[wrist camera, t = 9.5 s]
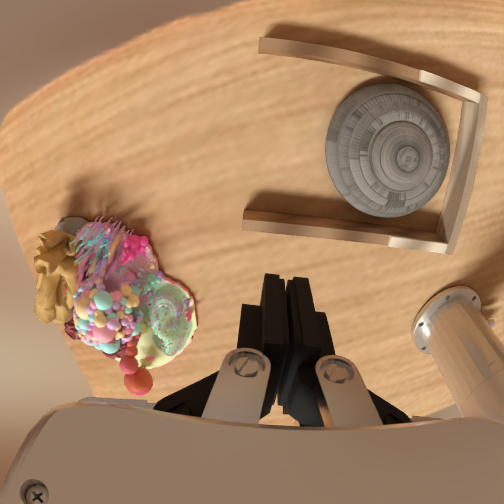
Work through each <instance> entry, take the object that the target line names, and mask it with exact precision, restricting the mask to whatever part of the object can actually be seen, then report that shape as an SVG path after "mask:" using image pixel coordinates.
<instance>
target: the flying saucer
mask: <svg viewBox="0 0 504 504" xmlns="http://www.w3.org/2000/svg"><path fill="white" fill-rule="evenodd" d="M325 153H326V162H327V167H328V171H329V174H330V177H331V179H332V181H333V183H334V185H335V187H336V189H337V190H338V192H339V193H340V194H341V195H342V197H343V198H344V199H345V200H346V201H347V202H348V203H349V204H351V205H352V206H353V207H355V208H356V209H358V210H359V211H361V212H363V213H366V214H368V215H371V216H375V217H382V218H393V217H400V216H404V215H407V214H409V213H412V212H414V211H416V210H418V209H419V208H421V207H422V206H424V205H425V204H426V203H427V202H428V201H429V200H431V198H432V197H433V196H434V195H435V194H436V192H437V191H438V190H439V188H440V186H441V185H442V183H443V181H444V178H445V176H446V173H447V169H448V165H449V157H450V146H449V139H448V134H447V130H446V127H445V125H444V122H443V120H442V118H441V116H440V115H439V113H438V111H437V110H436V109H435V107H434V106H433V105H432V104H431V103H430V101H428V100H427V99H426V98H425V97H424V96H423V95H421V94H420V93H418V92H417V91H415V90H413V89H411V88H409V87H407V86H404V85H400V84H395V83H378V84H373V85H369V86H366V87H364V88H362V89H360V90H358V91H356V92H355V93H353V94H352V95H351V96H349V97H348V98H347V99H346V100H345V101H344V102H343V103H342V104H341V106H340V107H339V108H338V110H337V111H336V113H335V114H334V116H333V118H332V120H331V123H330V126H329V129H328V132H327V137H326V146H325Z"/></svg>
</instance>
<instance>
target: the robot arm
mask: <svg viewBox="0 0 504 504" xmlns="http://www.w3.org/2000/svg"><path fill="white" fill-rule="evenodd" d="M493 326H494V320H493V319H485V317H484V316H483V315H482V314H481V301H480V298H479V296H478V295H477V293H476V292H475V291H474V290H473V289H471V288H470V287H467V286H455V287H451V288H448V289H446V290H444V291H442V292H440V293H439V294H437V295H436V296H434V297H433V298H432V299H431V300H430V301H428V302H427V303H426V305H425V306H424V307H423V308H422V309H421V311H420V312H419V314H418V315H417V317H416V319H415V321H414V324H413V327H412V340H413V342H414V344H415V346H416V347H417V349H418V350H419V351H421V352H423V353H426V354H432V356H433V358H434V360H435V362H436V364H437V366H438V368H439V370H440V372H441V374H442V376H443V378H444V380H445V382H446V384H447V386H448V388H449V390H450V392H451V394H452V396H453V398H454V400H455V402H456V404H457V406H458V409H459V411H460V413H461V416H462V417H460V418H452V419H440V418H430V417H420V416H412V418H409V417H408V416H407V415H406V414H405V413H404V412H402V411H401V410H399V409H397V408H396V407H394V406H393V405H391V404H390V403H388V402H387V401H385V400H383V399H382V398H380V397H379V396H377V395H376V394H374V393H373V392H371V391H370V390H368V389H367V388H366V386H365V384H364V382H363V379H362V377H361V375H360V373H359V371H358V369H357V367H356V366H355V364H354V363H353V362H351V361H350V360H349V359H347V358H345V357H342V356H338V355H335V350H334V346H333V342H332V337H331V333H330V329H329V325H328V321H327V317H326V314H325V313H324V312H315V308H314V303H313V298H312V293H311V289H310V284H309V280H308V278H302V277H293V280H288V282H287V286H286V292H285V281H284V279H280V278H279V275H276V274H267V273H265V276H264V283H263V289H262V295H261V302H260V306H257V305H248V304H242V309H241V317H240V326H239V334H238V343H237V349H235V350H232V351H231V352H229V353H228V354H227V355H226V356H225V358H224V360H223V363H222V365H221V368H220V370H219V371H217V372H215V373H213V374H211V375H210V376H208V377H206V378H204V379H202V380H200V381H198V382H196V383H194V384H192V385H189V386H187V387H185V388H183V389H181V390H179V391H177V392H175V393H173V394H171V395H169V396H167V397H164V398H163V399H161V400H160V401H158V402H157V403H148V402H147V400H134V399H113V398H98V397H87V398H83V399H81V400H79V401H78V402H72V403H66V404H61V405H58V406H56V407H53V408H51V409H50V410H48V411H46V412H45V413H44V414H43V415H42V416H41V417H40V418H39V419H38V420H37V422H36V423H35V424H34V426H33V427H32V429H31V430H30V431H29V433H28V434H27V436H26V438H25V440H24V441H23V443H22V445H21V447H20V448H19V451H18V452H17V454H16V456H15V458H14V461H13V462H12V464H11V466H10V469H9V471H8V474H7V476H6V478H5V481H4V483H3V486H2V488H1V491H0V504H504V345H503V344H502V342H501V341H500V339H499V338H498V337H497V335H496V334H495V333H494V331H493V330H492V329H491V328H492V327H493ZM276 395H277V398H278V405H280V406H283V414H289V415H290V416H292V417H293V418H294V419H295V422H294V425H295V426H279V425H264V424H258V423H259V420H260V419H261V418H263V417H264V416H266V415H267V414H269V413H270V410H271V407H272V405H274V402H275V399H276Z"/></svg>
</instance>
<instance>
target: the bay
mask: <svg viewBox="0 0 504 504" xmlns="http://www.w3.org/2000/svg"><path fill="white" fill-rule="evenodd" d="M259 53H260V54H271V55H280V56H288V57H296V58H303V59H309V60H316V61H321V62H327V63H332V64H338V65H343V66H347V67H352V68H357V69H361V70H365V71H369V72H374V73H377V74H381V75H385V76H389V77H392V78H396V79H399V80H403V81H406V82H409V83H413V84H416V85H419V86H422V87H425V88H428V89H431V90H434V91H437V92H440V93H442V94H445V95H448V96H450V97H453V98H456V99H458V100H461V101H463V104H462V112H461V119H460V126H459V132H458V138H457V144H456V150H455V155H454V160H453V165H452V170H451V174H450V179H449V183H448V187H447V192H446V196H445V200H444V204H443V207H442V211H441V215H440V218H439V222H438V226H437V229H436V232H435V233H434V232H427V231H420V230H413V229H406V228H399V227H392V226H385V225H377V224H370V223H362V222H354V221H346V220H338V219H329V218H320V217H312V216H303V215H293V214H284V213H274V212H264V211H253V210H244V214H243V221H242V230H243V231H254V232H265V233H275V234H286V235H296V236H306V237H316V238H325V239H335V240H344V241H354V242H363V243H372V244H381V245H388V247H395V248H403V249H412V250H420V251H429V252H437V253H445V254H451V255H453V252H454V249H455V246H456V243H457V240H458V237H459V234H460V231H461V227H462V224H463V221H464V217H465V214H466V210H467V207H468V203H469V199H470V195H471V191H472V187H473V183H474V179H475V174H476V170H477V165H478V160H479V155H480V150H481V144H482V138H483V132H484V126H485V119H486V111H487V102H488V97H487V96H485V95H483V94H481V93H479V92H476V91H474V90H472V89H470V88H467V87H465V86H463V85H460V84H458V83H455V82H453V81H450V80H448V79H445V78H443V77H440V76H437V75H435V74H432V73H429V72H426V71H424V70H418V69H415V68H412V67H409V66H406V65H403V64H399V63H396V62H393V61H389V60H386V59H382V58H378V57H375V56H371V55H367V54H363V53H358V52H354V51H350V50H345V49H340V48H335V47H330V46H325V45H319V44H313V43H307V42H300V41H293V40H285V39H276V38H267V37H260V40H259Z"/></svg>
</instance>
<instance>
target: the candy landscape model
mask: <svg viewBox="0 0 504 504" xmlns="http://www.w3.org/2000/svg"><path fill="white" fill-rule="evenodd" d="M99 217H100V215H99V216H98V217H97V218H96V219H95V220H94V221H95V222H88V221H87V220H84V219H83V218H81V217H68V218H65V219H64V221H63V222H59V223H58V225H57V226H56V228H55V230H50V231H47V232H45V233H42V234H40V235H39V236H38V237H39V241H40V244H41V246H40V247H38V248H36V249H35V251H36V252H37V253H38V254H39V255H37V256H36V257H34V262H35V268H36V271H37V272H38V273H40V275H39V277H38V280H37V288H38V291H37V295H36V300H35V308H34V312H35V315H36V316H37V318H38V319H39V320H40V321H42V322H44V323H45V324H48V323H50V322H51V321H52V320H53V322H55V323H60V324H64V323H65V325H64V326H65V327H66V328H65V329H64V330H65V332H66V333H67V334H68V335H69V336H70V337H71V338H72V339H74V340H75V339H79V340H82V341H83V342H84V343H86V344H87V345H90V346H94V347H95V348H96V349H98V350H102V351H103V352H102V353H104V354H105V355H106V356H107V357H110V358H112V359H116V360H117V361H119V362H120V363H119V365H120V369H121V370H122V371H123V372H124V373H126V375H125V377H124V383H125V386H126V388H127V389H128V391H129V392H131V393H132V394H135V395H144V394H146V393H148V392H149V391H150V390H151V388H152V386H153V380H152V376H151V374H150V373H149V371H147V370H146V369H145V368H147V369H151V368H153V367H160V366H162V365H163V364H166V363H169V362H170V361H172V360H173V359H174V357H175V356H176V355H179V354H180V353H182V352H183V349H184V348H185V347H186V346H187V345H188V344H189V343H191V341H192V335H193V334H194V331H195V330H196V328H197V318H196V311H195V303H194V298H193V296H191V295H190V293H189V290H188V289H186V288H185V287H184V286H183V285H181V284H180V283H179V282H174V281H172V280H171V279H170V278H167V277H165V276H164V275H163V273H162V272H161V271H159V266H158V260H157V257H156V256H155V255H154V254H153V252H152V247H151V245H150V244H148V242H149V240H148V238H147V237H146V236H141V237H140V236H137V235H135V234H132V235H131V233H132V232H133V231H134V228H133V230H132V231H131V233H130V234H129V232H130V230H128V231H127V232H126V231H125V230H124V229H125V227H126V226H125V225H124V226H123V227H122V228H121V229H119V228H120V226H119V225H120V224H121V223H122V221H120V222H119V224H118V225H117V227H116V228H114V227H115V225H116V223H117V222H118V221H116V222H115V223H113V224H112V225H111V223H109V222H110V220H111V219H113V217H111V218H110V220H109V221H108V222H105V223H102V221H101V219H103V218H104V216H102V217H101V218H100V220H99V221H98V222H97V221H96V220H97V219H98V218H99ZM108 223H109V224H108ZM112 226H113V227H112Z"/></svg>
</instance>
